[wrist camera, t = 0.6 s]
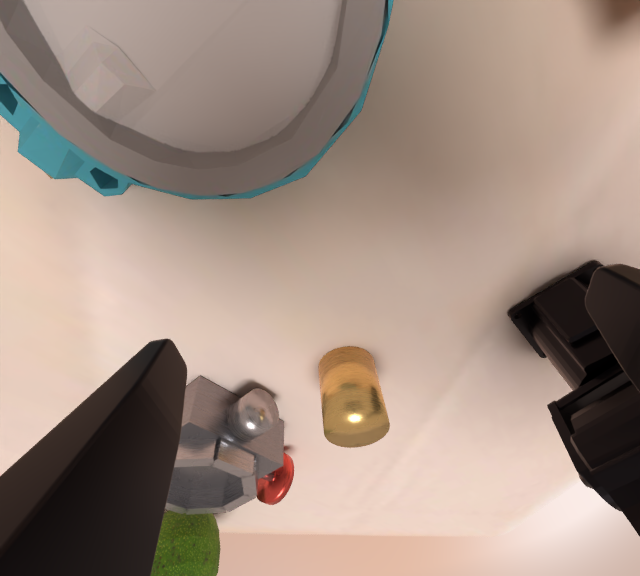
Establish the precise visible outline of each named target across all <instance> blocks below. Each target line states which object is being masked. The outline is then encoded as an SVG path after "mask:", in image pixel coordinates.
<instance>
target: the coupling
mask: <svg viewBox="0 0 640 576" xmlns="http://www.w3.org/2000/svg"><path fill="white" fill-rule="evenodd" d="M318 368H319V380H320V392H321V403H322V415H323V426H324V435H325V437H326V439H327V440H328V441H329V442H331V443H333V444H335V445H337V446H341V447H362V446H366V445H370V444H372V443H374V442H377V441H378V440H380V439H381V438H383V437H384V436H385V435H386V434H387V432H388V430H389V427H390V423H389V419H388V415H387V411H386V407H385V403H384V399H383V395H382V391H381V387H380V383H379V379H378V375H377V371H376V367H375V363H374V360H373V357H372V355H371V354H370V353H369V352H367V351H366V350H364V349H362V348H358V347H351V346H348V347H341V348H337V349H334V350H332V351H330V352H328V353H327V354H326V355H325V356H323V358H322V359H321V361H320V363H319V367H318Z"/></svg>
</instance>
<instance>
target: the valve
mask: <svg viewBox="0 0 640 576" xmlns="http://www.w3.org/2000/svg"><path fill="white" fill-rule="evenodd" d="M283 452H284V421H282V420H281V419H279V413H278V408H277V405H276V403H275V401H274V399H273V398H272V397H271V395H270V394H269V393H267V392H266V391H264V390H262V389H258V388H257V389H253V390H251V391H250V392H249V393H247V394H246V395H244V396H243V397H241V398H240V397H238V396H237V395H235V394H233V393H231V392H229V391H227V390H226V389H224V388H222V387H220V386H218V385H216V384H215V383H213V382H211V381H209V380H207V379H205V378H204V377H202V376H199V377H198V378H197V379H195V380H194V381H193V382H191V383H190V384H189V385H188V386H186V389H185V399H184V409H183V419H182V428H181V435H180V441H179V447H178V452H177V456H176V461H175V465H174V470H173V475H172V479H171V484H170V488H169V493H168V498H167V502H166V507H165V509H167V510H170V511H173V512H176V513H180V514H183V513H186V515H190V514H208V513H226V511H229V512H230V511H232V510H234V509H235V508H237V507H239V506H241V505H243V504H245V503H247V502H249V501H250V500H252V499H254V498H256V496H257V498H258V500H260V501H261V502H263V503H266V504H269V505H274V504H277V503H278V502H280V501H281V500H282V499H283V498H284V497H285V495H286V494H287V492H288V491H289V489H290V486H291V484H292V480H293V476H294V464H293V460H292V458H291V457H290V456H289V455H287V454H285V453H283Z"/></svg>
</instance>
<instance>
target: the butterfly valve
mask: <svg viewBox="0 0 640 576" xmlns="http://www.w3.org/2000/svg"><path fill="white" fill-rule="evenodd" d="M392 5H393V0H0V115H1V116H2V117H3V118H5V119H6V120H7V121H8V122H9V123H10V124H11V125H12V126H13V127H15V128H16V129H17V130H18V131H19V132H20V135H19V146H18V152H19V153H20V154H22V155H23V156H24V157H26V158H27V159H28V160H30V161H31V162H32V163H34V164H35V165H36V166H38V167H39V168H40V169H42V170H43V171H44V172H45V173H46V174H47V175H48V176H49V177H50V178H51V179H52V178H54V179H67V178H79V179H80V180H82V181H83V182H85V183H86V184H87V185H89V186H90V187H92V188H93V189H95V190H96V191H98V192H99V193H100V194H102V195H103V196H113V195H121V194H123V193H124V192H125V191H126V190H127V189H128V188H129V187H130V186H131V184H134V185H138V186H142V187H146V188H150V189H154V190H157V191H161V192H165V193H169V194H173V195H176V196H180V197H184V198H188V199H239V198H252V197H255V196H257V195H260V194H262V193H265V192H267V191H270V190H272V189H275V188H277V187H280V186H282V185H285V184H287V183H290V182H293V181H295V180H298V179H300V178H303V177H305V176H306V175H307V174H308V173H309V172H310V171H311V169H312V168H313V167H314V166H315V165H316V163H317V162H318V161H319V160H320V159H321V158H322V156H323V155H324V154H325V153H326V152H327V150H328V149H329V148H330V147H331V146H332V145H333V143H334V142H335V141H336V140H337V139H338V137H339V136H340V135H341V134H342V133H343V132H344V130H345V129H346V128H347V127H348V126H349V124H350V123H351V122H352V121H353V120H354V119H355V117H356V116H357V115H358V114H359V113H360V112H361V110H362V107H363V104H364V101H365V98H366V94H367V91H368V88H369V85H370V82H371V79H372V76H373V72H374V69H375V66H376V63H377V60H378V57H379V54H380V50H381V47H382V44H383V41H384V38H385V35H386V32H387V28H388V25H389V21H390V15H391V10H392Z"/></svg>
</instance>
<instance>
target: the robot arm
mask: <svg viewBox="0 0 640 576" xmlns="http://www.w3.org/2000/svg"><path fill="white" fill-rule="evenodd" d="M516 314H517V315H516ZM508 316H509V318H510V319H511V320H512V321H513V323H514V324H515V325H516V327H517V328H518V329H519V330H520V332H521V333H522V334H523V335H524V337H525V338H526V339H527V340H528V342H529V343H530V344H531V346H532V347H533V348H534V349H535V351H536V352H537V353H538V354H539V356H540V357H541V358H546V357H548V359H549V360H550V361H551V363H552V364H553V365H554V367H555V368H556V369H557V370H558V372H559V373H560V374H561V376H562V377H563V378H564V380H565V381H566V382H567V384H568V385H569V386H570V387H571V389H572V390H573V391H572V392H570V393H569V394H567V395H566V396H564V397H562V398H561V399H559V400H558V401H553V402H551V403H550V404H548V405H547V406H548V409H549V411H550V413H551V415H552V420H553V422H554V424H555V426H556V428H557V430H558V432H559V435H560V437H561V439H562V441H563V443H564V445H565V447H566V449H567V451H568V453H569V456H570V458H571V460H572V462H573V464H574V466H575V468H576V470H577V472H578V473H579V477H580V479H581V481H582V482H583V483H584V484H585V485H586V486H587V487H590V488H592V489H594V490H595V491H596V492H597V493H598V494H599V495H600V496H601V497H602V498H603V499H604V500H605V501H606V502H607V503H608V504H610V505H611V506H612V507H614V508H615V509H617V510H619V511H622V512H623V513H624V515H625V516H626V517H627V519H628V520H629V522H630V523H631V524H632V526H633V527H634V529H635V530H636V532H637V533H638V535H639V536H640V269H637V268H634V267H630V266H627V265H623V264H614V265H608V266H603V265H602V264H601V263H600V262H598V261H594V262H591V263H589V264H588V265H586V266H584V267H582V268H581V269H579V270H577V271H576V272H574V273H572V274H571V275H569V276H567V277H565V278H564V279H562V280H560V281H559V282H557V283H555V284H554V285H552V286H550V287H548V288H547V289H545V290H543V291H542V292H540V293H538V294H537V295H535V296H533V297H531V298H530V299H528V300H526V301H525V302H523V303H521V304H520V305H518V306H516V307H514V308H513V309H511V310H510V311H509V313H508ZM186 380H187V367H186V364H185V362H184V360H183V358H182V356H181V355H180V353H179V351H178V349H177V348H176V346H175V344H174V343H173V341H172V340H170V339H161V340H155V341H151V342H149V343H148V344H147V345H146V346H145V347H144V348H142V349H141V350H140V351H139V352H138V353H137V354H136V355H135V356H134V357H132V358H131V359H130V360H129V361H128V362H127V363H126V364H125V365H124V366H122V367H121V368H120V369H119V370H118V371H117V372H116V373H115V374H114V375H112V376H111V377H110V378H109V379H108V380H107V381H106V382H105V383H104V384H102V385H101V386H100V387H99V388H98V389H97V390H96V391H95V392H94V393H92V394H91V395H90V396H89V397H88V398H87V399H86V400H85V401H83V402H82V403H81V404H80V405H79V406H78V407H77V408H76V409H75V410H73V411H72V412H71V413H70V414H69V415H68V416H67V417H66V418H65V419H63V420H62V421H61V422H60V423H59V424H58V425H57V426H56V427H55V428H53V429H52V430H51V431H50V432H49V433H48V434H47V435H46V436H45V437H43V438H42V439H41V440H40V441H39V442H38V443H37V444H36V445H35V446H33V447H32V448H31V449H30V450H29V451H28V452H27V453H26V454H25V455H23V456H22V457H21V458H20V459H19V460H18V461H17V462H16V463H15V464H13V465H12V466H11V467H10V468H9V469H8V470H7V471H6V472H5V473H3V474H2V475H1V476H0V576H151V571H152V567H153V562H154V558H155V553H156V548H157V544H158V539H159V535H160V530H161V525H162V521H163V516H164V511H165V507H166V502H167V498H168V493H169V488H170V484H171V479H172V475H173V470H174V465H175V461H176V456H177V452H178V447H179V441H180V435H181V428H182V419H183V409H184V399H185V389H186Z"/></svg>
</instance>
